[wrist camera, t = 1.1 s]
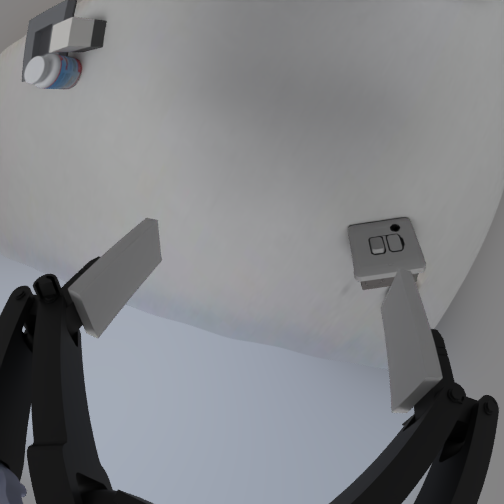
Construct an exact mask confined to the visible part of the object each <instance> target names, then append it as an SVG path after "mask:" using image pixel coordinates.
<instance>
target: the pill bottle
mask: <svg viewBox="0 0 504 504" xmlns="http://www.w3.org/2000/svg"><path fill="white" fill-rule="evenodd" d="M81 71H82V67H81V63H80V61H79V60H78V59H76V58H71V57H67V56H62V55H58V54H47V55H45V56H36V57H34V58H33V59H31V60H30V62H29V63H28V65H27V66H26V69H25V73H24V78H25V81H26V82H27V83H28V84H34V85H35V86H36V87H38V88H44V89H69V88H72V87H73V86H74V85H76V83H77V82H78V81H79V78H80V76H81Z"/></svg>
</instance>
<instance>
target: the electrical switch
mask: <svg viewBox="0 0 504 504" xmlns="http://www.w3.org/2000/svg"><path fill="white" fill-rule="evenodd" d="M348 234H349V240H350V246H351V252H352V258H353V265H354V277H355V279H356V280H357V281H358V282H361V286H362V289H363V290H365V289H373V288H380V287H387V286H391V285H392V282H393V280H394V278H395V276H396V273H397V271H398V269H404V270H408V271H411V272H412V275H413V278H414V280H415V282H416V281H417V276H418V274H419V273H422V272H424V270H425V267H426V262H425V259H424V256H423V253H422V250H421V248H420V245H419V242H418V239H417V237H416V234H415V231H414V229H413V226H412V224H411V221H410V220H409V219H408V218H400V219H393V220H386V221H379V222H372V223H366V224H359V225H352V226H350V227H349V228H348Z"/></svg>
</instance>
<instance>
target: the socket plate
mask: <svg viewBox="0 0 504 504" xmlns="http://www.w3.org/2000/svg"><path fill="white" fill-rule="evenodd" d="M76 3H77V0H65V1H63V2H61V3H59V4H58V5H56V6H54V7H52V8H50V9H48V10H46V11H45V12H43V13H41V14H39V15H38V16H36V17H35V18H33V19H31V20H30V21H29V26H28V32H27V37H26V44H25V51H24V60H23V70H22V82H24V81H25V78H24V73H25V69H26V66H27V65H28V63H29V62H30V60H31V59H33V58H34V57H36V56H45V55H47V54H58V55H62V56H67V55H68V52H57V53H49V50H50V43H51V36H52V30H53V25H55V24H57V23H60V22H62V21H64V20H66V19H69V18H71V17H74V12H75V7H76Z"/></svg>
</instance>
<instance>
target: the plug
mask: <svg viewBox="0 0 504 504" xmlns="http://www.w3.org/2000/svg"><path fill="white" fill-rule="evenodd" d="M106 22H107V21H102V20H95V19H87V18H79V17H71V18H69V19H66V20H64V21H62V22H60V23H57V24H55V25H53V30H52V36H51V43H50V50H49V53H57V52H85V51H89V50H92V49H97V48H101V47H103V40H104V34H105V27H106Z"/></svg>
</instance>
